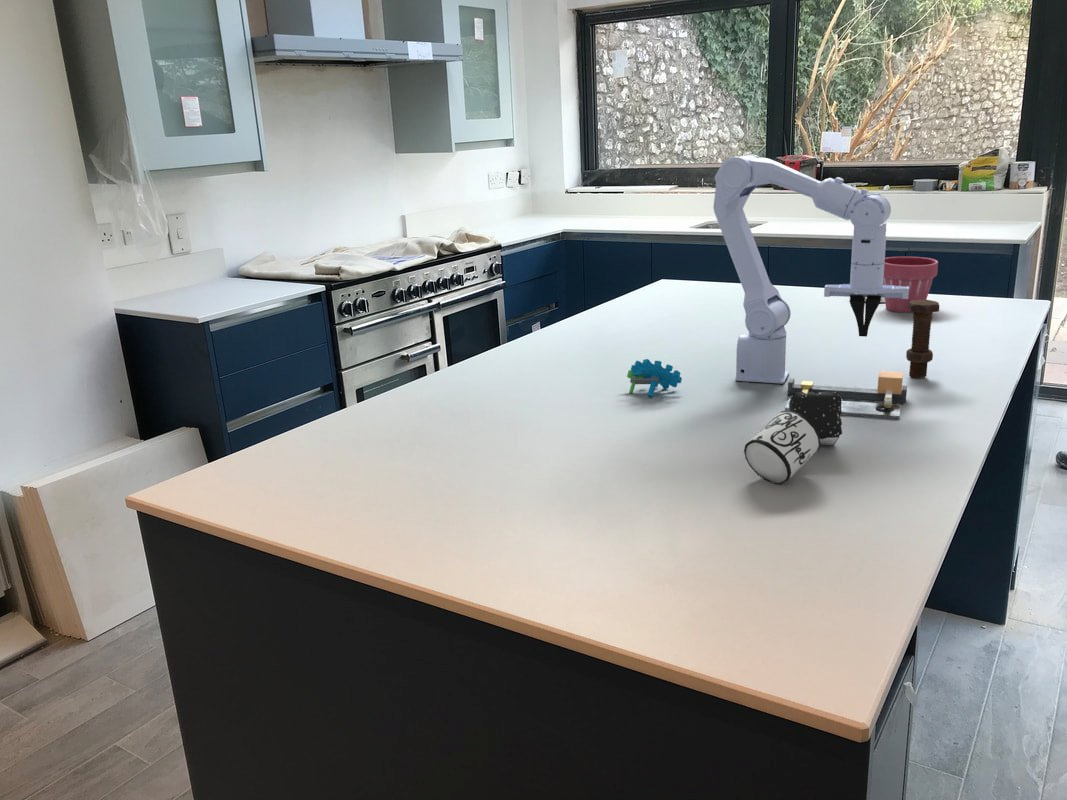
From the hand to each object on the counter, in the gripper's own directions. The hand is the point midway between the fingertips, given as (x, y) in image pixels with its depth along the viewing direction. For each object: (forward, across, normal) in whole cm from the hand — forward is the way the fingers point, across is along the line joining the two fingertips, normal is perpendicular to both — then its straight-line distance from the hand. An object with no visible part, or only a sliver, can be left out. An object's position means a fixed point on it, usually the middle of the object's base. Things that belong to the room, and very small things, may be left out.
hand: (863, 335), depth 165 cm
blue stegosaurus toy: (+11, -37, -12) cm, 40 cm away
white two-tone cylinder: (+11, -7, -42) cm, 44 cm away
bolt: (+11, +10, +10) cm, 18 cm away
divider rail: (+10, -2, -10) cm, 14 cm away
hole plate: (+10, -2, -14) cm, 17 cm away
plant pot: (+11, +6, +75) cm, 76 cm away
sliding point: (+9, +5, -10) cm, 14 cm away
